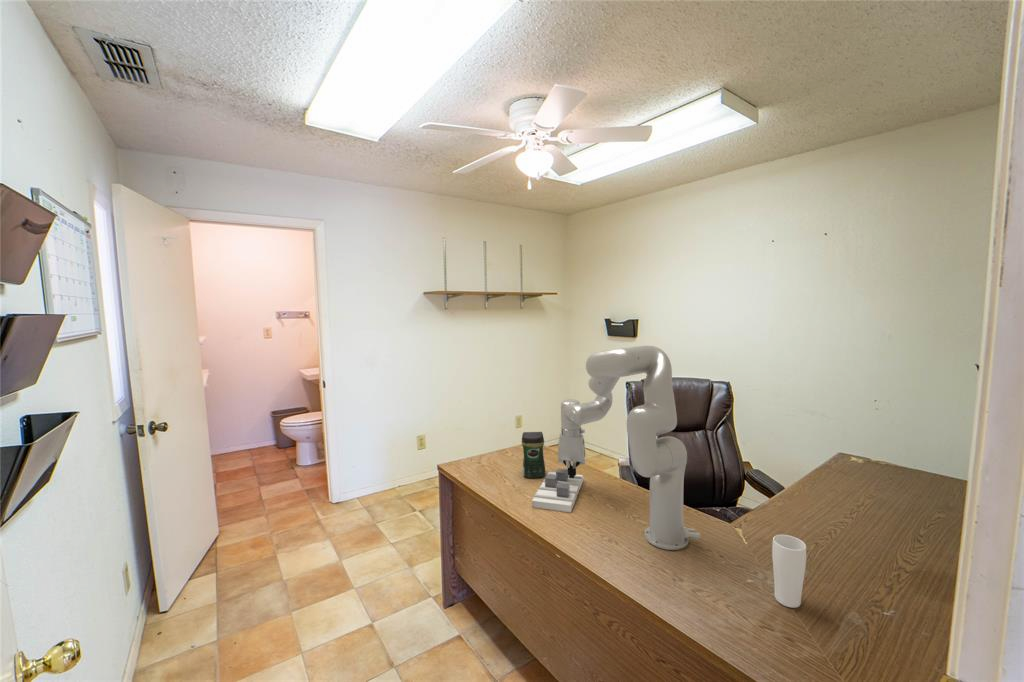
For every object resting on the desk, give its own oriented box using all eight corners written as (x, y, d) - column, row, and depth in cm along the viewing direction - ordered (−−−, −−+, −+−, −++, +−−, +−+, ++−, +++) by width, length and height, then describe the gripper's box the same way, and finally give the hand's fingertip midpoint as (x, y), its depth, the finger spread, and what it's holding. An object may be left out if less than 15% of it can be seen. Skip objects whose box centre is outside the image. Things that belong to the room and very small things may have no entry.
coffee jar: (545, 470, 183) (543, 429, 181) (545, 478, 175) (544, 435, 173) (522, 471, 183) (521, 429, 181) (522, 479, 175) (520, 435, 173)
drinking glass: (791, 590, 105) (793, 533, 104) (811, 610, 98) (813, 549, 97) (764, 592, 105) (766, 534, 103) (783, 612, 98) (785, 551, 97)
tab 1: (557, 483, 163) (557, 475, 163) (555, 487, 160) (555, 479, 159) (547, 482, 164) (547, 474, 164) (545, 486, 161) (544, 478, 161)
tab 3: (569, 493, 155) (569, 484, 155) (567, 497, 152) (567, 488, 151) (558, 491, 156) (558, 483, 156) (556, 496, 153) (556, 487, 153)
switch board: (583, 481, 171) (583, 473, 171) (570, 512, 147) (570, 503, 146) (549, 477, 176) (549, 470, 175) (532, 507, 151) (531, 498, 151)
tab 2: (568, 477, 168) (567, 469, 168) (566, 481, 165) (566, 473, 164) (558, 476, 170) (558, 468, 169) (556, 480, 166) (555, 472, 166)
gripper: (591, 430, 165) (592, 475, 167) (554, 427, 170) (555, 471, 172) (588, 436, 158) (589, 483, 160) (549, 433, 163) (551, 478, 165)
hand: (572, 476), depth 166 cm, fingers closed
